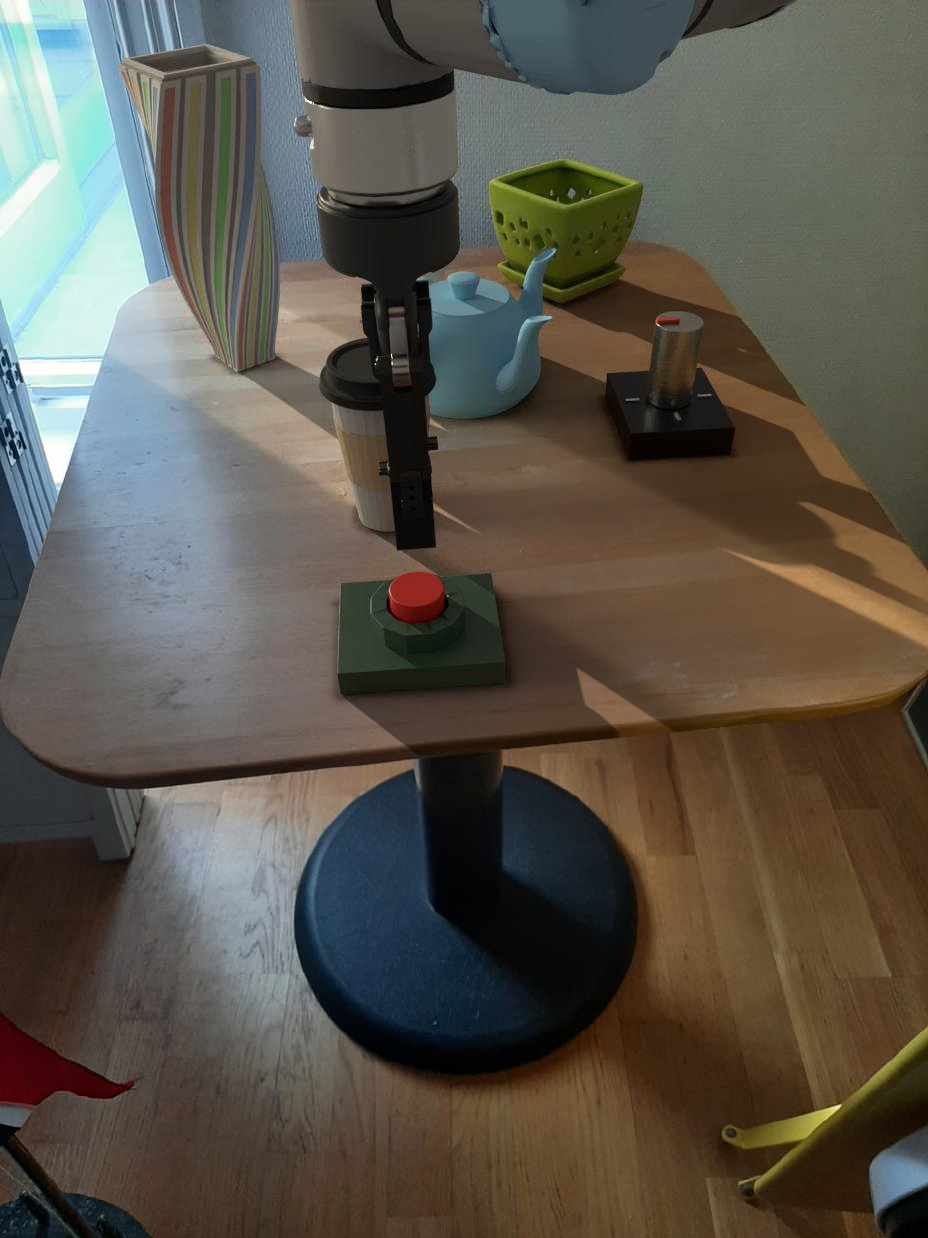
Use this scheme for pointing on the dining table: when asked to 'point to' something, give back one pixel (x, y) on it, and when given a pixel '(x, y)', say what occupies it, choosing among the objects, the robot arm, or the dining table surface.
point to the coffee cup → (363, 428)
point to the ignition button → (416, 597)
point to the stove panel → (667, 420)
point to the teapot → (485, 342)
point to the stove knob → (674, 359)
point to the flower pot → (564, 224)
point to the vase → (213, 193)
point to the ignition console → (419, 639)
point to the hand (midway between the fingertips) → (416, 542)
